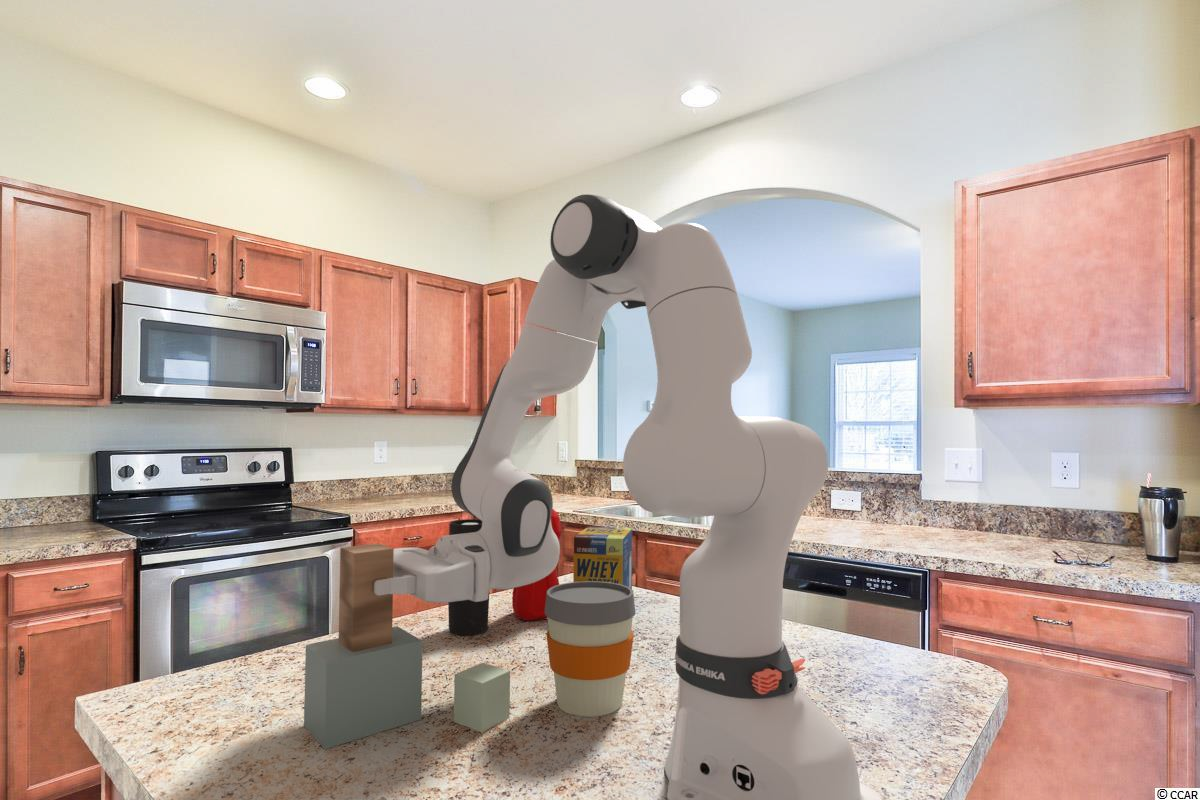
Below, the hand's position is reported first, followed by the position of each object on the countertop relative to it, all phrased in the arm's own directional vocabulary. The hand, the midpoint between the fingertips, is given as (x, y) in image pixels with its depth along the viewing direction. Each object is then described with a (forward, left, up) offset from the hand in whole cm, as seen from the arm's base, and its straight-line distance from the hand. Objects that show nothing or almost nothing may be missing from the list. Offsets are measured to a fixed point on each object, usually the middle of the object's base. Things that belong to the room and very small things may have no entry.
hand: (359, 580), depth 82 cm
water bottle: (+24, -45, -18) cm, 54 cm away
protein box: (+22, -61, -18) cm, 67 cm away
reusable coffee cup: (-14, -27, -18) cm, 35 cm away
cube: (-9, -13, -18) cm, 24 cm away
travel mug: (+25, -30, -18) cm, 43 cm away
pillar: (0, -1, -8) cm, 8 cm away
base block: (0, -1, -18) cm, 18 cm away
